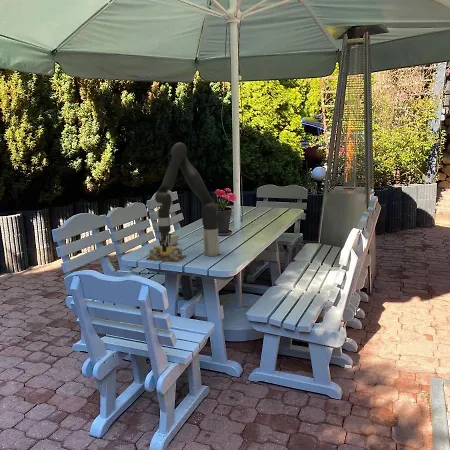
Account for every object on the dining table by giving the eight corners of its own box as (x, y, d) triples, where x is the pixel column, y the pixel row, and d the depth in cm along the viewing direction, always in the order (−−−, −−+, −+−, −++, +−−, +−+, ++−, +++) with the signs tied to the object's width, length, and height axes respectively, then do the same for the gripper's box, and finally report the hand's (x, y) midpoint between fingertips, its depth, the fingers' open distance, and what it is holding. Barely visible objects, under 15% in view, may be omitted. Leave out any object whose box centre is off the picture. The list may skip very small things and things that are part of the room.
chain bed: (186, 256, 291) (185, 247, 289) (178, 262, 279) (178, 252, 278) (154, 254, 297) (154, 245, 296) (146, 259, 286) (145, 250, 285)
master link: (153, 254, 289) (153, 246, 288) (156, 252, 292) (155, 245, 291) (175, 255, 284) (175, 247, 283) (177, 254, 287) (177, 246, 286)
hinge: (172, 242, 327) (175, 230, 324) (177, 245, 325) (180, 233, 322) (157, 248, 313) (161, 235, 309) (163, 251, 311) (166, 238, 308)
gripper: (163, 221, 292) (165, 247, 295) (153, 226, 279) (155, 253, 282) (174, 222, 289) (175, 248, 293) (164, 226, 276) (166, 254, 280)
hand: (165, 250), depth 288 cm, fingers closed on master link, 3 cm apart
